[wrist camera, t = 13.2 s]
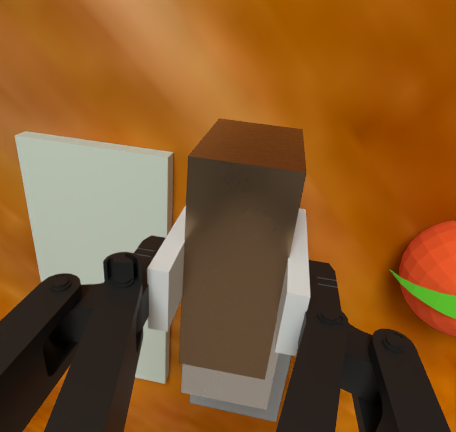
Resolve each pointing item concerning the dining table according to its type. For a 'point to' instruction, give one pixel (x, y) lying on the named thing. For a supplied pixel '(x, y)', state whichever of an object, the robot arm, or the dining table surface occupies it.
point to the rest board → (97, 213)
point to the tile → (252, 411)
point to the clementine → (431, 276)
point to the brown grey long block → (237, 257)
